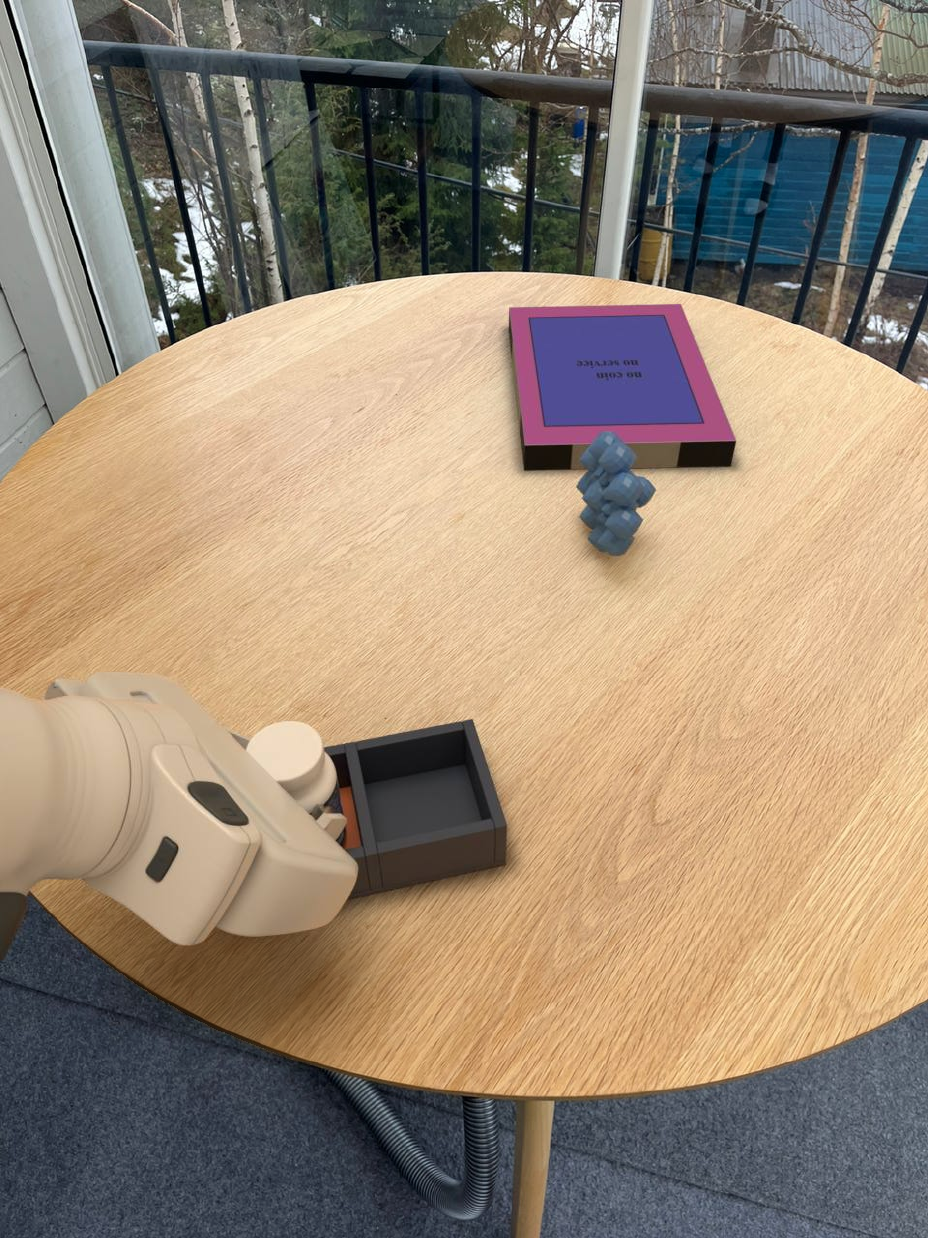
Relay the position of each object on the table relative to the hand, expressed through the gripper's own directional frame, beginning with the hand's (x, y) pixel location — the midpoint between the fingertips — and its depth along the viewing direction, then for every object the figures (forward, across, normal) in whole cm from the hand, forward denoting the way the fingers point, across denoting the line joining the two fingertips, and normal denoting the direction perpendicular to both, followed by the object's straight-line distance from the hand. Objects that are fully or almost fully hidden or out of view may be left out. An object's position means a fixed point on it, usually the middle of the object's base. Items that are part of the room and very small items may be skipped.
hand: (301, 789), depth 60 cm
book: (+47, -24, +37) cm, 65 cm away
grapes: (+32, -6, +23) cm, 40 cm away
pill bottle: (+4, 0, -4) cm, 6 cm away
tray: (+6, +2, -2) cm, 7 cm away
